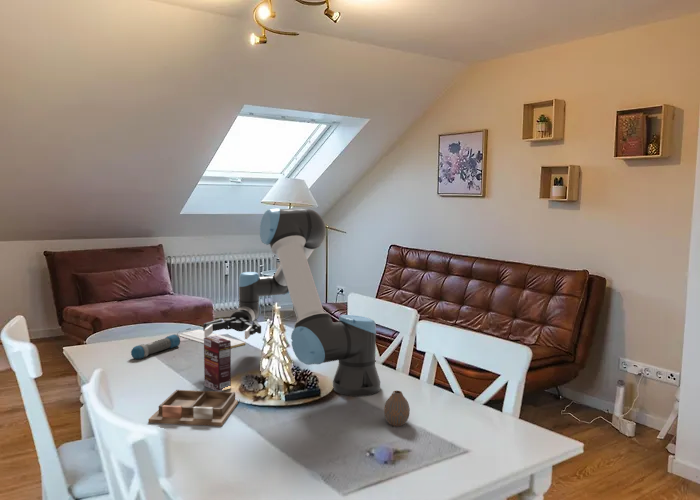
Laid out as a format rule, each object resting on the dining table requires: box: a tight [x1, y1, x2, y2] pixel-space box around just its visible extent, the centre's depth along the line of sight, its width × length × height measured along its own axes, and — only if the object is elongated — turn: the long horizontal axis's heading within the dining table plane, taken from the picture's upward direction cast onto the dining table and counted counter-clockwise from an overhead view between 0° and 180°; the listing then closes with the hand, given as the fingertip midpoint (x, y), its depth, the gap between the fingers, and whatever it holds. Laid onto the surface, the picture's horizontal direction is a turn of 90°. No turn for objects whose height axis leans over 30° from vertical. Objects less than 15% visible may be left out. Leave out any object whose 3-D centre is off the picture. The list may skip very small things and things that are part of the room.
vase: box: [383, 390, 411, 427], centre depth 157 cm, size 7×7×9 cm
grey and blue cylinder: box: [130, 333, 181, 360], centre depth 221 cm, size 5×22×5 cm, turn 154°
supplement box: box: [203, 336, 232, 392], centre depth 182 cm, size 9×5×16 cm, turn 45°
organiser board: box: [147, 389, 239, 427], centre depth 163 cm, size 20×18×4 cm
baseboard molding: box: [176, 327, 246, 349], centre depth 239 cm, size 31×3×12 cm
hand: (225, 334), depth 192 cm, fingers open, 13 cm apart
